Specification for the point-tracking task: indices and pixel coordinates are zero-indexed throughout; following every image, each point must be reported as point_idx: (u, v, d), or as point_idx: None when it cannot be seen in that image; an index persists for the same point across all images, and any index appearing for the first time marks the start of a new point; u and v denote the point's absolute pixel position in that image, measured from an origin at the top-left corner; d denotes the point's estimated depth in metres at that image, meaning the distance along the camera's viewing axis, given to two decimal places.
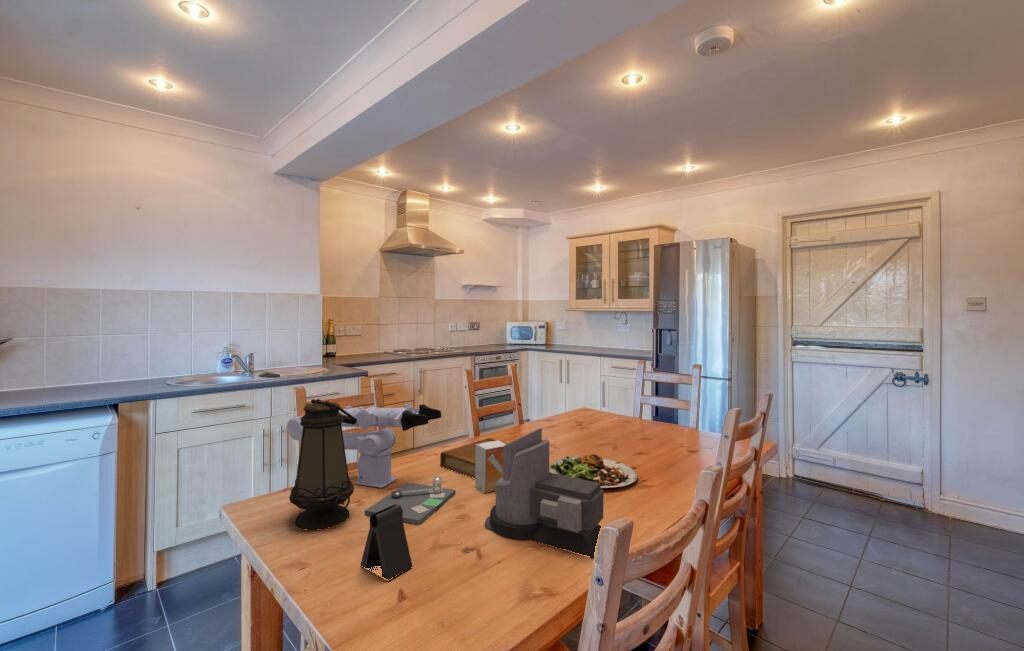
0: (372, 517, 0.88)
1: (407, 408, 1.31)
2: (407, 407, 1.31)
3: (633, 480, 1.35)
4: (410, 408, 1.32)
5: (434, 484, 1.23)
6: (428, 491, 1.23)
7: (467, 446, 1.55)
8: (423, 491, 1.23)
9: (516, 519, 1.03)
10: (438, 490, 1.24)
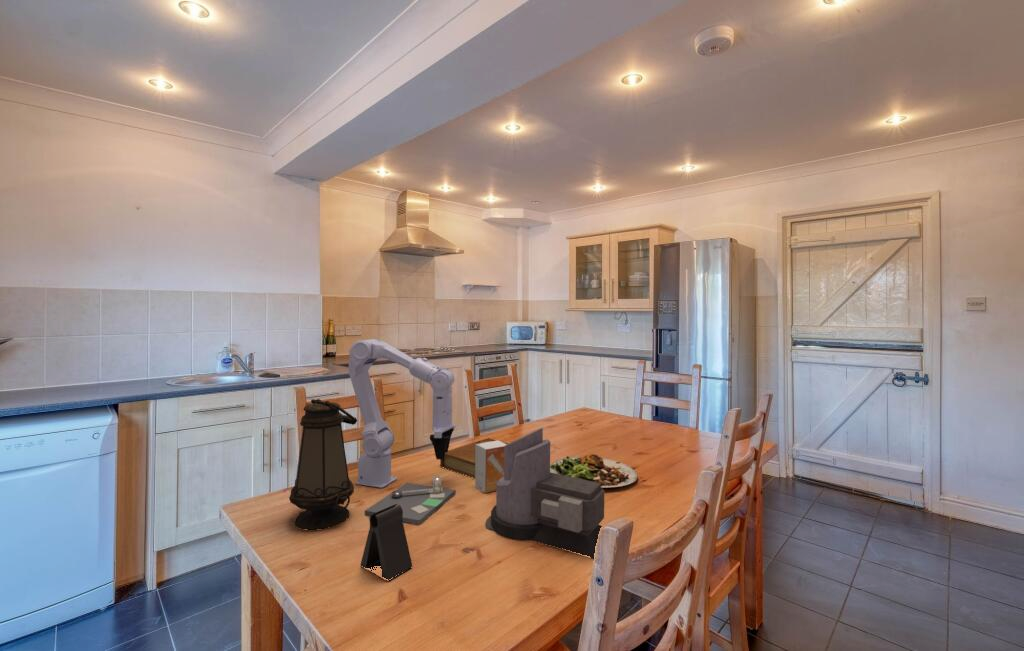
0: (372, 517, 0.88)
1: None
2: None
3: (633, 480, 1.35)
4: None
5: (434, 484, 1.23)
6: (428, 491, 1.23)
7: (467, 446, 1.55)
8: (423, 491, 1.23)
9: (516, 519, 1.03)
10: (438, 490, 1.24)
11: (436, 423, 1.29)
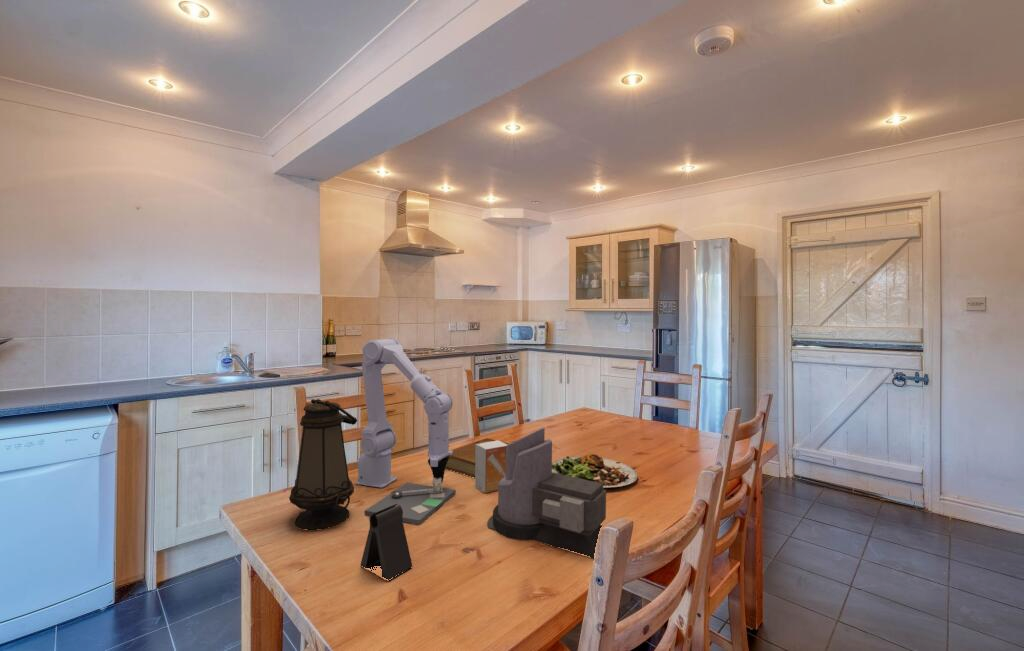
0: (372, 517, 0.88)
1: None
2: None
3: (633, 480, 1.35)
4: None
5: (434, 484, 1.23)
6: (428, 491, 1.23)
7: (466, 446, 1.55)
8: (423, 491, 1.23)
9: (518, 519, 1.03)
10: (438, 490, 1.23)
11: (432, 450, 1.24)
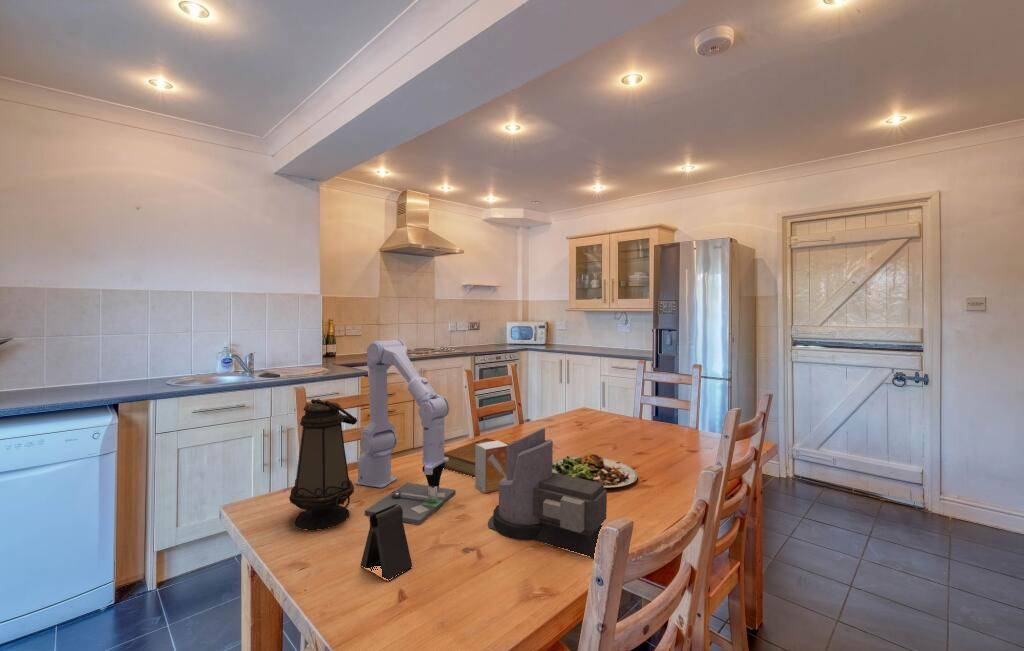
0: (372, 517, 0.88)
1: None
2: None
3: (633, 480, 1.35)
4: None
5: (428, 492, 1.18)
6: (423, 498, 1.18)
7: (466, 446, 1.55)
8: (419, 497, 1.19)
9: (519, 519, 1.03)
10: (431, 500, 1.17)
11: (427, 456, 1.17)
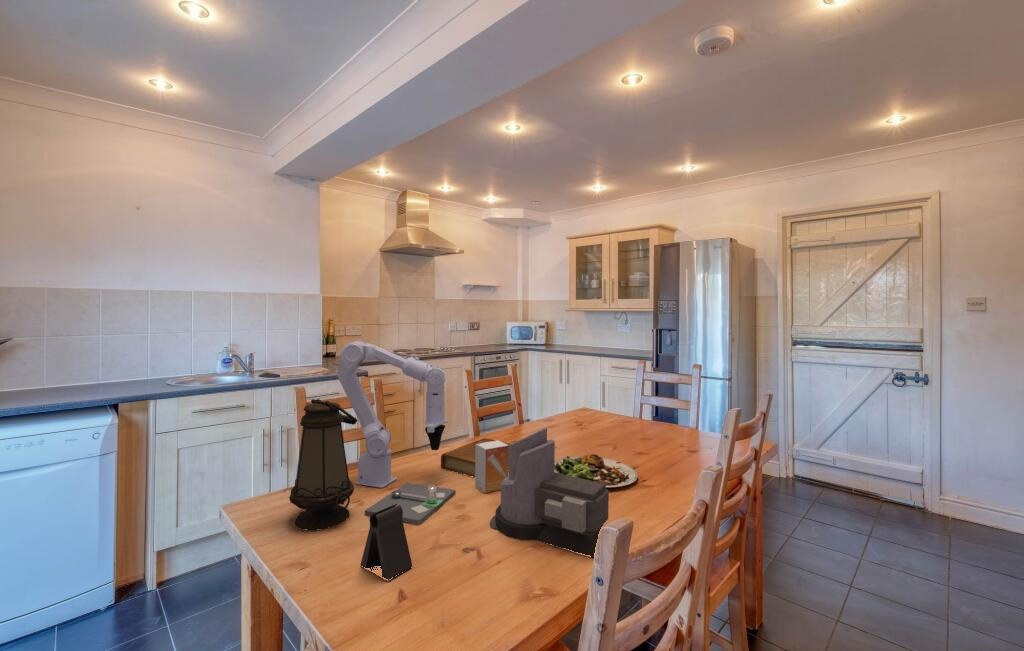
0: (372, 517, 0.88)
1: (443, 423, 1.37)
2: None
3: (633, 480, 1.35)
4: None
5: (427, 493, 1.17)
6: (423, 499, 1.18)
7: (466, 447, 1.55)
8: (418, 498, 1.19)
9: (520, 519, 1.03)
10: (430, 500, 1.17)
11: (429, 418, 1.35)
